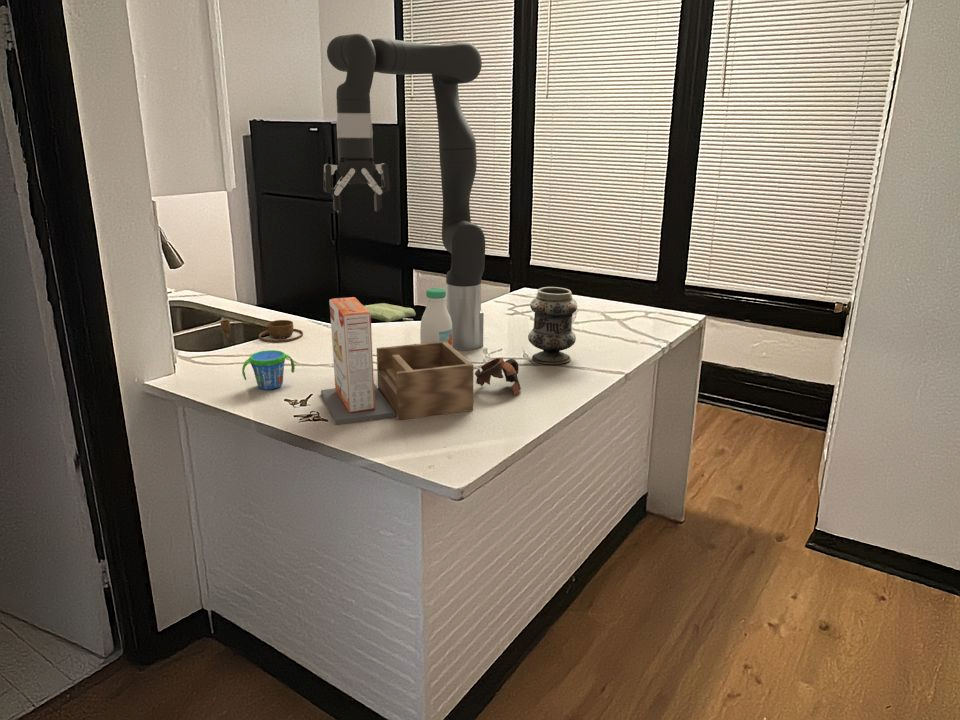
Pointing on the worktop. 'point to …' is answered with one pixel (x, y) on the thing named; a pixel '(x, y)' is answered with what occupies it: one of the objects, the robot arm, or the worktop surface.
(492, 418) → the worktop surface
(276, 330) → the place setting
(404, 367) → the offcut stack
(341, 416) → the mat
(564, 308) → the apothecary jar
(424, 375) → the wooden box
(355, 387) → the cracker box
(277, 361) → the snack cup
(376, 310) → the washcloth
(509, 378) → the brown jagged arch
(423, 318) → the milk bottle
